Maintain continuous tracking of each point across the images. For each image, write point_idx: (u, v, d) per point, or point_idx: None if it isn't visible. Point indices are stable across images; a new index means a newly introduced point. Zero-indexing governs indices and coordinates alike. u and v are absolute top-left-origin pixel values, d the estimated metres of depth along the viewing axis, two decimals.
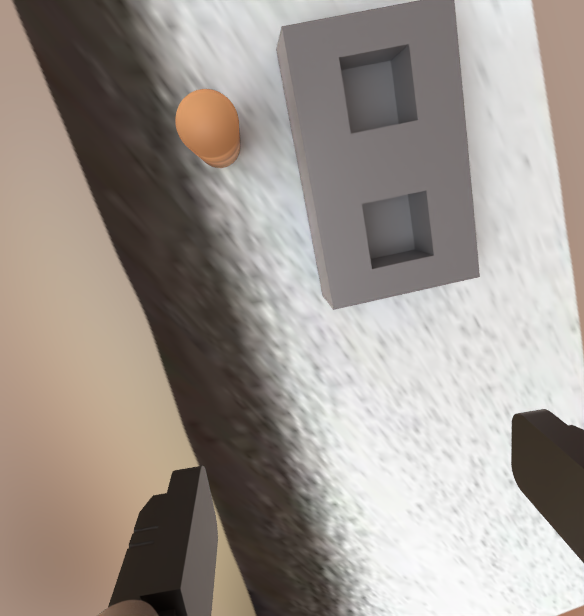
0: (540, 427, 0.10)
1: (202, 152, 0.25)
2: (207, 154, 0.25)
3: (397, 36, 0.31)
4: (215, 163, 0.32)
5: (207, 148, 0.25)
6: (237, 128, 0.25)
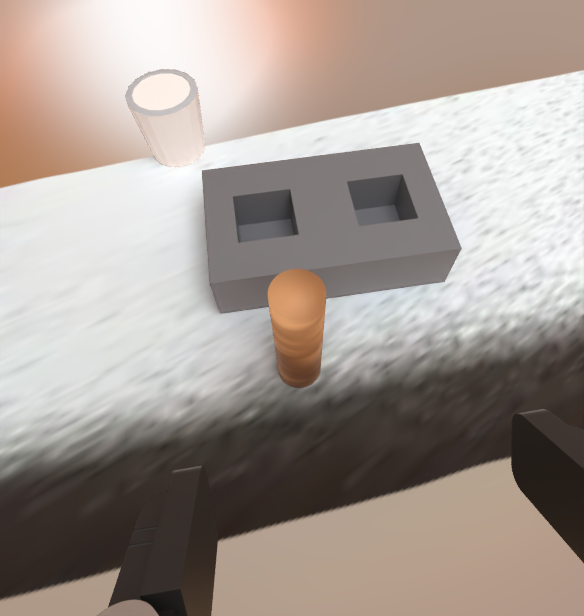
0: (540, 427, 0.10)
1: (323, 299, 0.26)
2: (325, 295, 0.26)
3: (226, 203, 0.39)
4: (322, 341, 0.32)
5: (319, 295, 0.26)
6: (302, 270, 0.27)
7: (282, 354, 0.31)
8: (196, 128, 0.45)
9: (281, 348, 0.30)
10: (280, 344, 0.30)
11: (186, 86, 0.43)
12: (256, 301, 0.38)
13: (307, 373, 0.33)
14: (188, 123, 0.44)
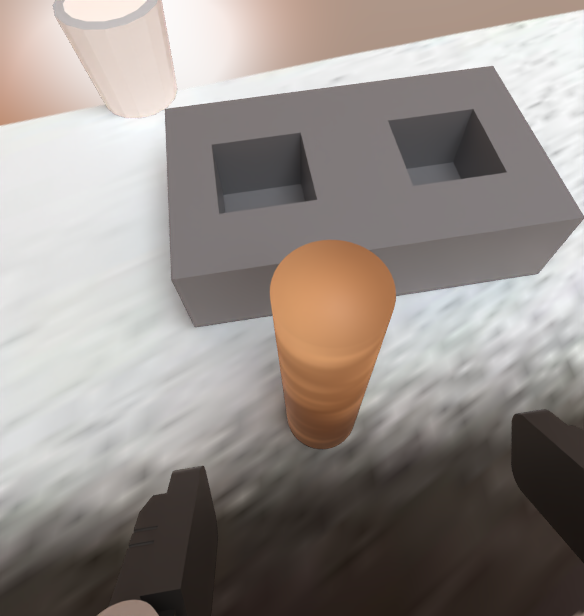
0: (540, 427, 0.10)
1: (391, 301, 0.12)
2: (393, 293, 0.12)
3: (201, 155, 0.25)
4: None
5: (381, 292, 0.12)
6: (341, 242, 0.13)
7: (297, 404, 0.17)
8: (161, 57, 0.31)
9: (295, 395, 0.16)
10: (294, 389, 0.16)
11: None
12: (250, 308, 0.24)
13: (337, 431, 0.19)
14: (148, 46, 0.30)
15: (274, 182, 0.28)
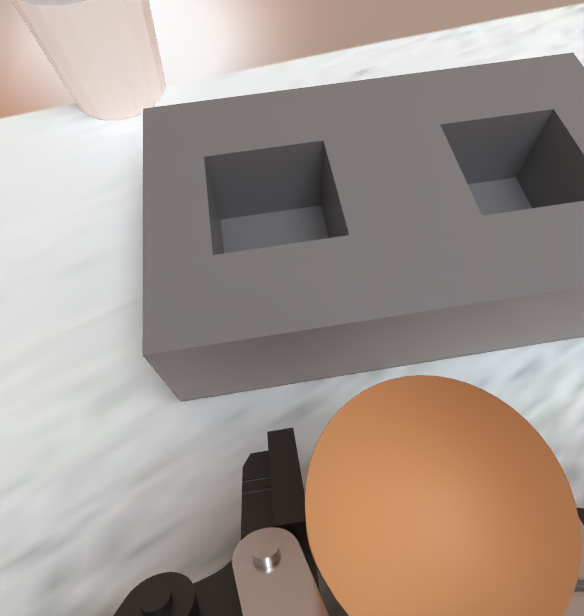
0: None
1: (572, 540, 0.05)
2: (574, 517, 0.06)
3: (190, 171, 0.18)
4: None
5: (547, 514, 0.06)
6: (446, 382, 0.07)
7: None
8: (143, 44, 0.25)
9: None
10: None
11: None
12: (255, 379, 0.18)
13: None
14: (125, 29, 0.23)
15: (286, 203, 0.22)
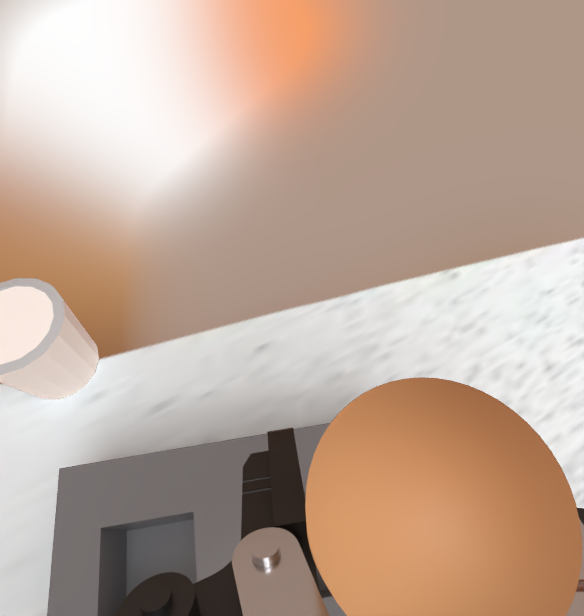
0: None
1: (573, 543, 0.05)
2: (575, 520, 0.06)
3: (89, 545, 0.24)
4: None
5: (547, 517, 0.06)
6: (446, 384, 0.07)
7: None
8: (72, 361, 0.31)
9: None
10: None
11: (48, 313, 0.29)
12: None
13: None
14: (53, 366, 0.29)
15: (178, 521, 0.28)
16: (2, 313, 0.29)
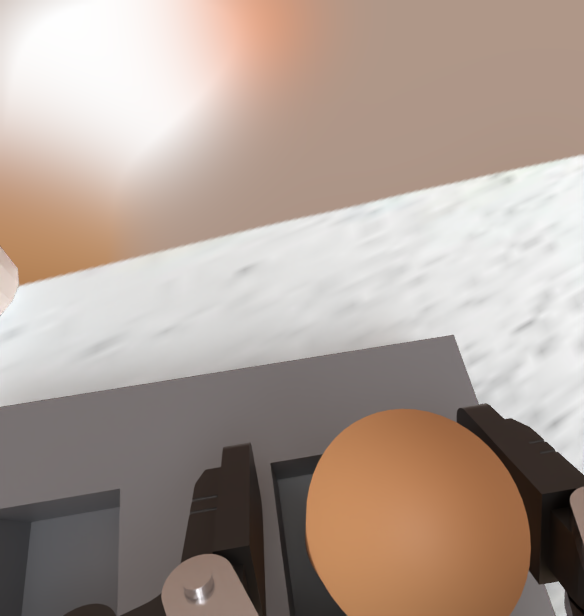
0: (478, 420, 0.11)
1: (523, 548, 0.07)
2: (526, 529, 0.07)
3: None
4: None
5: (504, 527, 0.07)
6: (424, 414, 0.08)
7: None
8: None
9: None
10: None
11: None
12: None
13: None
14: None
15: (109, 506, 0.18)
16: None
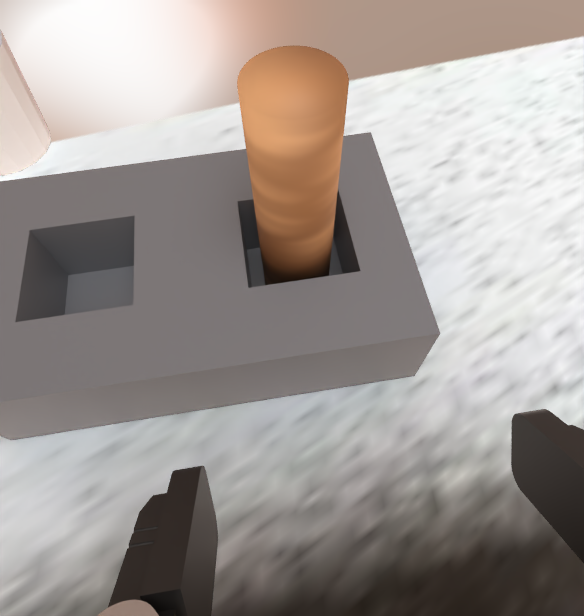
0: (540, 427, 0.10)
1: (344, 88, 0.14)
2: (346, 82, 0.14)
3: (14, 244, 0.21)
4: (334, 220, 0.20)
5: (336, 82, 0.14)
6: (303, 48, 0.15)
7: (268, 234, 0.19)
8: (14, 113, 0.28)
9: (266, 219, 0.18)
10: (264, 209, 0.17)
11: None
12: (68, 423, 0.21)
13: (308, 278, 0.21)
14: None
15: (125, 262, 0.25)
16: None
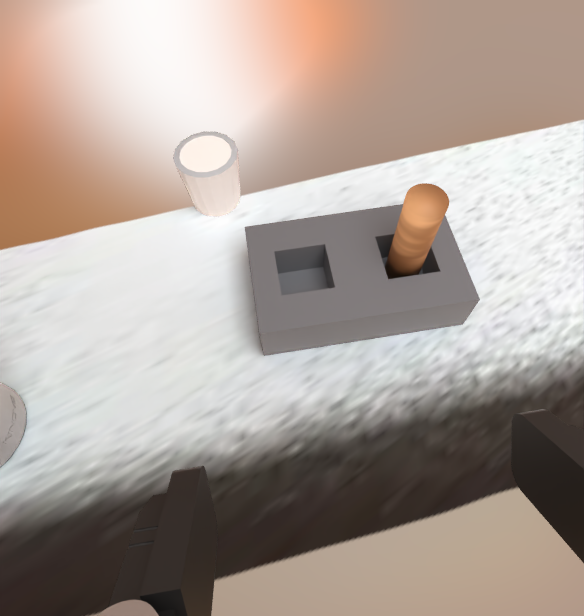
0: (540, 427, 0.10)
1: (447, 203, 0.36)
2: (448, 200, 0.36)
3: (269, 258, 0.43)
4: None
5: (444, 200, 0.36)
6: (428, 184, 0.37)
7: (401, 256, 0.41)
8: (235, 184, 0.50)
9: (403, 249, 0.40)
10: (403, 245, 0.39)
11: (227, 148, 0.48)
12: (296, 345, 0.43)
13: None
14: (229, 181, 0.48)
15: (307, 266, 0.47)
16: (199, 148, 0.48)
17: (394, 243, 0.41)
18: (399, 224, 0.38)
